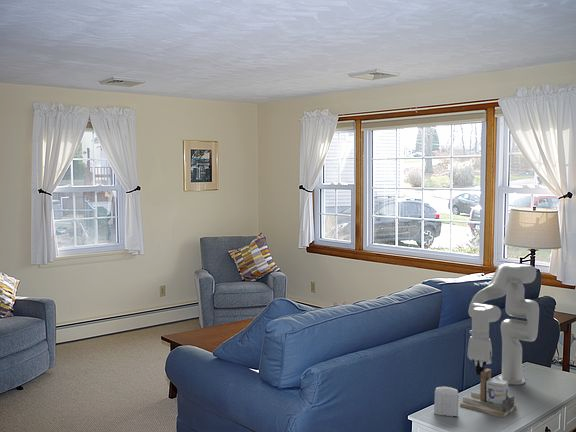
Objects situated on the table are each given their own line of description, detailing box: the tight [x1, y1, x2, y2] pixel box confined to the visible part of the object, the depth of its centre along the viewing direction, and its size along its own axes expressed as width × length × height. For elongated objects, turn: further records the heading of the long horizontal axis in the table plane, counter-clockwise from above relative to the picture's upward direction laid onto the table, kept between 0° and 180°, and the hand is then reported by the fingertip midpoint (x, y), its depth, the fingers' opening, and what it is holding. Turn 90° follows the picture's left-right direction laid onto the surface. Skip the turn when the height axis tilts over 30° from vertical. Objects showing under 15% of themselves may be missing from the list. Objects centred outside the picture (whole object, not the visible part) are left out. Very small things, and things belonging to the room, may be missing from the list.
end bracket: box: [479, 368, 492, 402], centre depth 276 cm, size 6×2×15 cm, turn 137°
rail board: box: [459, 391, 517, 419], centre depth 276 cm, size 14×20×6 cm
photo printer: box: [433, 386, 460, 417], centre depth 268 cm, size 10×4×12 cm, turn 72°
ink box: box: [486, 377, 509, 407], centre depth 273 cm, size 9×5×12 cm, turn 56°
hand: (479, 374), depth 278 cm, fingers closed
